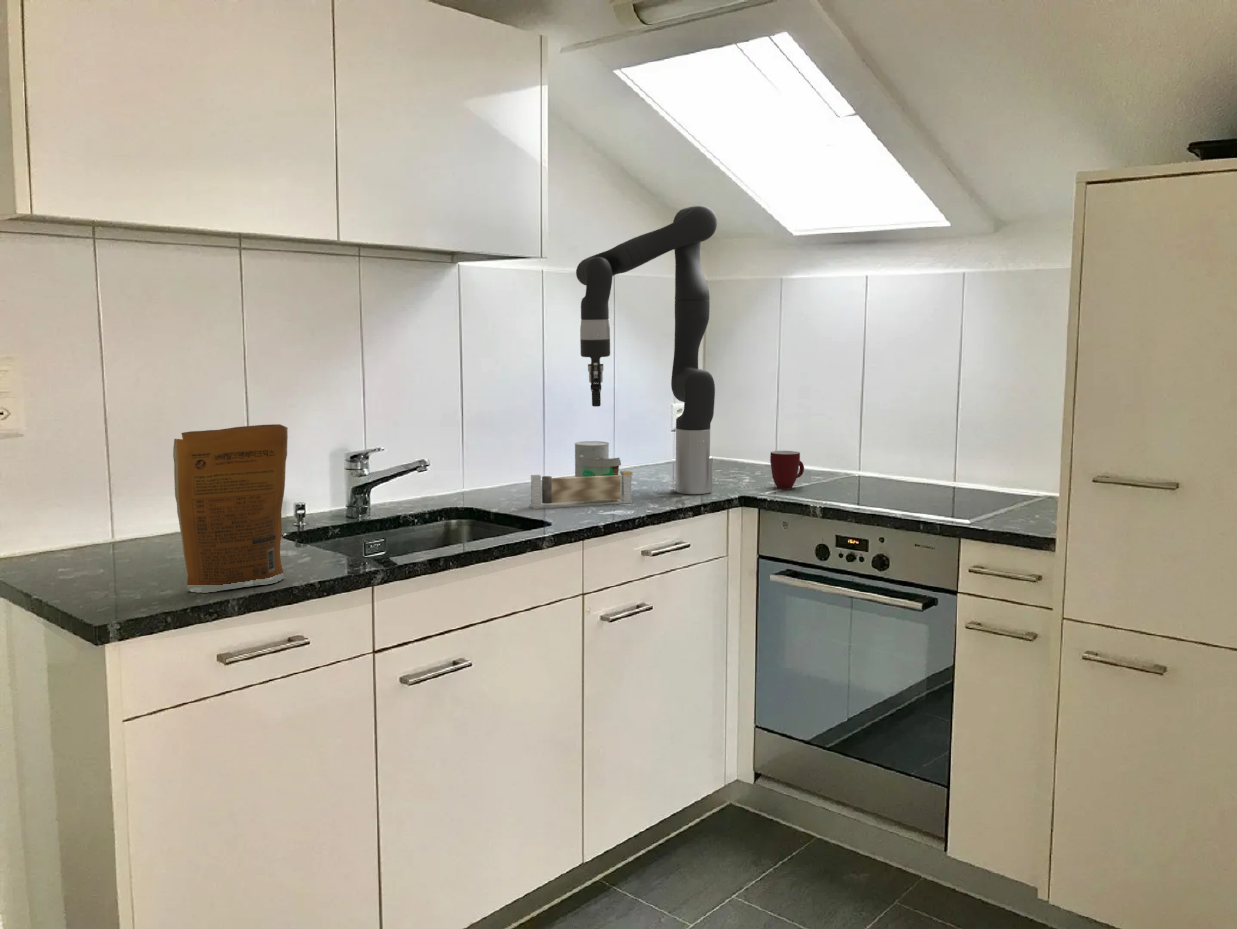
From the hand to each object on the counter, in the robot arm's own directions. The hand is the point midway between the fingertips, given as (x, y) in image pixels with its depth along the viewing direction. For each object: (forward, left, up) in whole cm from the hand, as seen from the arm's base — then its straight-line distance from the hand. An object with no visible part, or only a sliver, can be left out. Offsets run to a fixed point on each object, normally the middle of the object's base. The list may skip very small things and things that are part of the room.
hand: (596, 406), depth 255 cm
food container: (-2, -7, -25) cm, 26 cm away
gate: (+6, +6, -23) cm, 25 cm away
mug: (-56, 0, -25) cm, 61 cm away
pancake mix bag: (+86, +62, -25) cm, 108 cm away
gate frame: (+6, +6, -24) cm, 26 cm away
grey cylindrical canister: (-5, -19, -25) cm, 32 cm away
